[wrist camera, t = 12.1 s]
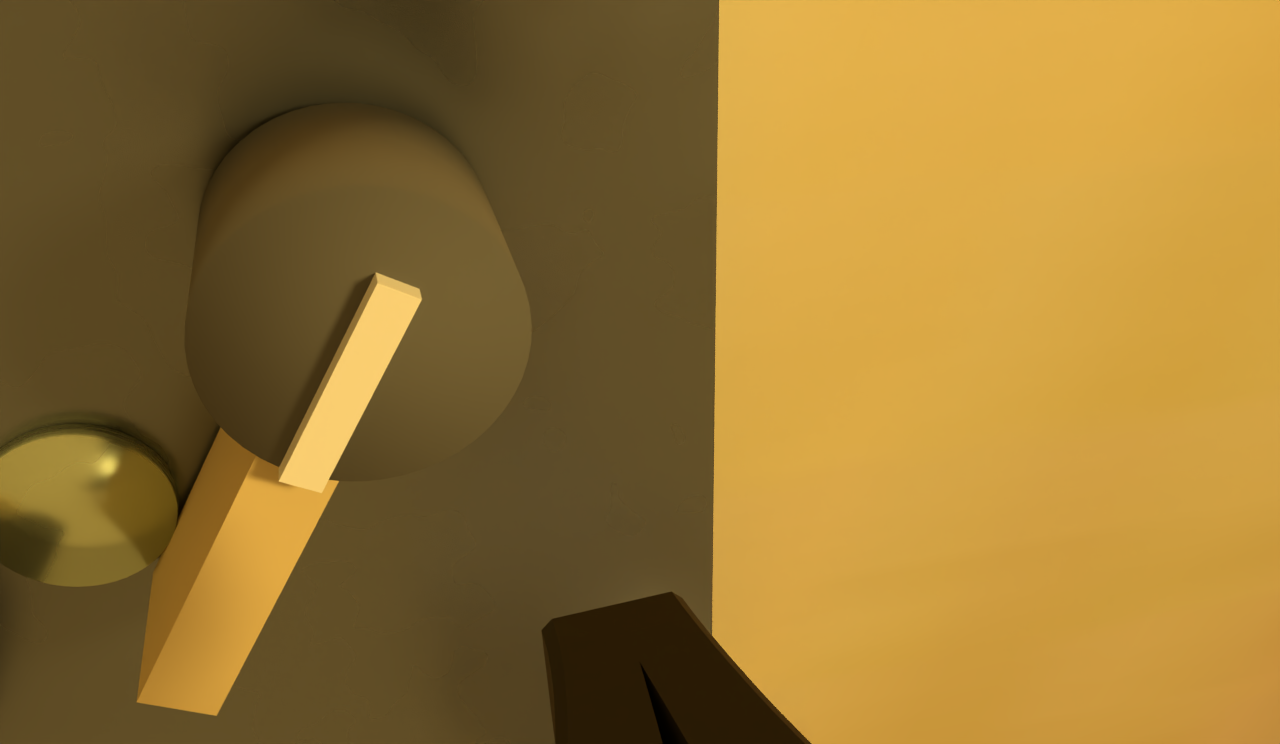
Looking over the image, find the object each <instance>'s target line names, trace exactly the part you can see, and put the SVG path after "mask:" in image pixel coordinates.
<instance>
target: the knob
mask: <svg viewBox="0 0 1280 744" xmlns="http://www.w3.org/2000/svg"><path fill="white" fill-rule="evenodd" d="M531 333H532V321H531V313H530V305H529V301H528V298H527V294H526V290H525V287H524V284H523V282H522V280H521V277H520V275H519V272H518V270H517V268H516V265H515V263H514V260H513V258H512V255H511V253H510V251H509V248H508V246H507V243H506V241H505V239H504V236H503V234H502V231H501V229H500V227H499V224H498V222H497V219H496V217H495V215H494V212H493V210H492V207H491V205H490V202H489V200H488V198H487V195H486V193H485V191H484V188H483V186H482V184H481V182H480V179H479V178H478V176H477V174H476V173H475V171H474V170H473V168H472V166H471V165H470V163H469V162H468V161H467V160H466V158H465V157H464V156H463V155H462V154H461V152H460V151H459V150H458V149H457V148H456V147H455V146H454V145H453V144H452V143H450V142H449V141H448V140H447V139H446V138H445V137H444V136H442V135H441V134H440V133H438V132H437V131H435V130H434V129H433V128H431V127H430V126H428V125H426V124H424V123H422V122H421V121H419V120H417V119H415V118H413V117H411V116H408V115H406V114H403V113H400V112H398V111H395V110H392V109H388V108H384V107H380V106H376V105H369V104H361V103H327V104H320V105H313V106H309V107H305V108H301V109H297V110H294V111H291V112H288V113H286V114H283V115H281V116H279V117H276V118H274V119H272V120H270V121H268V122H267V123H265V124H263V125H261V126H260V127H258V128H256V129H255V130H254V131H252V132H251V133H250V134H248V135H247V136H246V137H245V138H243V139H242V140H241V141H240V142H239V143H238V144H237V145H236V146H235V147H234V148H233V149H232V150H231V151H230V152H229V153H228V154H227V155H226V156H225V158H224V159H223V161H222V162H221V163H220V165H219V166H218V168H217V169H216V170H215V172H214V174H213V176H212V178H211V180H210V182H209V184H208V186H207V188H206V191H205V194H204V197H203V200H202V203H201V207H200V213H199V219H198V226H197V234H196V241H195V249H194V257H193V265H192V273H191V281H190V288H189V296H188V304H187V312H186V320H185V342H184V347H185V353H186V360H187V367H188V370H189V373H190V376H191V379H192V382H193V385H194V387H195V389H196V391H197V393H198V395H199V397H200V400H201V402H202V403H203V405H204V406H205V408H206V409H207V411H208V412H209V414H210V415H211V416H212V418H213V419H214V420H215V422H216V423H217V424H218V425H219V426H220V427H221V428H220V430H219V432H218V434H217V436H216V438H215V440H214V443H213V445H212V447H211V449H210V451H209V453H208V455H207V458H206V460H205V462H204V464H203V466H202V468H201V470H200V473H199V475H198V477H197V479H196V481H195V483H194V485H193V488H192V490H191V492H190V494H189V496H188V498H187V501H186V503H185V505H184V507H183V509H182V511H181V513H180V516H179V518H178V520H177V523H176V528H175V531H174V534H173V536H172V538H171V541H170V543H169V544H168V546H167V547H166V548H165V550H164V551H163V552H162V554H161V556H160V558H159V561H158V563H157V565H156V567H155V569H154V571H153V578H152V585H151V593H150V601H149V609H148V617H147V625H146V632H145V640H144V648H143V656H142V664H141V672H140V679H139V687H138V695H137V702H138V703H144V704H149V705H155V706H161V707H167V708H173V709H179V710H185V711H191V712H197V713H203V714H209V715H215V716H217V714H218V712H219V710H220V708H221V706H222V704H223V703H224V701H225V699H226V697H227V695H228V693H229V691H230V689H231V687H232V685H233V683H234V681H235V680H236V678H237V676H238V674H239V672H240V670H241V668H242V666H243V664H244V662H245V660H246V658H247V657H248V655H249V653H250V651H251V649H252V647H253V645H254V643H255V641H256V639H257V637H258V635H259V634H260V632H261V630H262V628H263V626H264V624H265V622H266V620H267V618H268V616H269V614H270V612H271V611H272V609H273V607H274V605H275V603H276V601H277V599H278V597H279V595H280V593H281V591H282V589H283V588H284V586H285V584H286V582H287V580H288V578H289V576H290V574H291V572H292V570H293V568H294V566H295V564H296V563H297V561H298V559H299V557H300V555H301V553H302V551H303V549H304V547H305V545H306V543H307V541H308V540H309V538H310V536H311V534H312V532H313V530H314V528H315V526H316V524H317V522H318V520H319V518H320V517H321V515H322V513H323V511H324V509H325V507H326V505H327V503H328V501H329V499H330V497H331V495H332V494H333V492H334V490H335V488H336V486H337V484H338V482H339V481H372V480H382V479H388V478H392V477H397V476H402V475H406V474H409V473H412V472H416V471H419V470H422V469H425V468H427V467H429V466H432V465H434V464H436V463H439V462H441V461H443V460H445V459H447V458H448V457H450V456H452V455H454V454H455V453H457V452H459V451H461V450H462V449H463V448H465V447H466V446H468V445H469V444H470V443H472V442H473V441H474V440H476V439H477V438H478V437H479V436H480V435H481V434H482V433H484V432H485V431H486V430H487V429H488V428H489V427H490V426H491V425H492V424H493V423H494V422H495V420H496V419H497V418H498V417H499V416H500V415H501V413H502V412H503V411H504V410H505V408H506V407H507V405H508V403H509V402H510V400H511V399H512V397H513V396H514V394H515V392H516V390H517V388H518V386H519V384H520V382H521V380H522V377H523V374H524V371H525V368H526V365H527V362H528V358H529V352H530V346H531Z"/></svg>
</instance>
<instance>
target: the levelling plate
mask: <svg viewBox="0 0 1280 744" xmlns="http://www.w3.org/2000/svg"><path fill="white" fill-rule="evenodd" d="M718 41H719V0H0V744H555V739H554V731H553V722H552V714H551V706H550V698H549V689H548V681H547V673H546V665H545V656H544V648H543V640H542V632H541V630H542V629H543V628H544V627H545V626H546V625H547V623H548V622H549V621H550V620H551V619H553V618H558V617H562V616H566V615H571V614H575V613H579V612H584V611H588V610H593V609H597V608H601V607H606V606H610V605H614V604H619V603H623V602H628V601H632V600H636V599H641V598H645V597H649V596H654V595H658V594H662V593H667V592H671V591H672V592H673V593H675V594H677V595H678V596H680V597H682V598H683V600H684V601H685V602H686V604H687V605H688V606H689V608H690V609H691V610H692V611H693V613H694V614H695V615H696V617H697V618H698V619H699V620H700V622H701V623H702V624H703V625H704V627H705V628H706V629H707V630H708V632H709V633H710V634H711V635H712V572H713V484H714V395H715V306H716V218H717V129H718ZM327 103H361V104H369V105H376V106H380V107H384V108H388V109H392V110H395V111H398V112H400V113H403V114H406V115H408V116H411V117H413V118H415V119H417V120H419V121H421V122H422V123H424V124H426V125H428V126H430V127H431V128H433V129H434V130H435V131H437V132H438V133H440V134H441V135H442V136H444V137H445V138H446V139H447V140H448V141H449V142H450V143H452V144H453V145H454V146H455V147H456V148H457V149H458V150H459V151H460V152H461V154H462V155H463V156H464V157H465V158H466V160H467V161H468V162H469V163H470V165H471V166H472V168H473V170H474V171H475V173H476V174H477V176H478V178H479V179H480V182H481V184H482V186H483V188H484V191H485V193H486V195H487V198H488V200H489V202H490V205H491V207H492V210H493V212H494V215H495V217H496V219H497V222H498V224H499V227H500V229H501V231H502V234H503V236H504V239H505V241H506V243H507V246H508V248H509V251H510V253H511V255H512V258H513V260H514V263H515V265H516V268H517V270H518V272H519V275H520V277H521V280H522V282H523V284H524V287H525V290H526V294H527V298H528V301H529V305H530V313H531V321H532V333H531V346H530V352H529V358H528V362H527V365H526V368H525V371H524V374H523V377H522V380H521V382H520V384H519V386H518V388H517V390H516V392H515V394H514V396H513V397H512V399H511V400H510V402H509V403H508V405H507V407H506V408H505V410H504V411H503V412H502V413H501V415H500V416H499V417H498V418H497V419H496V420H495V422H494V423H493V424H492V425H491V426H490V427H489V428H488V429H487V430H486V431H485V432H484V433H482V434H481V435H480V436H479V437H478V438H477V439H476V440H474V441H473V442H472V443H470V444H469V445H468V446H466V447H465V448H463V449H462V450H461V451H459V452H457V453H455V454H454V455H452V456H450V457H448V458H447V459H445V460H443V461H441V462H439V463H436V464H434V465H432V466H429V467H427V468H425V469H422V470H419V471H416V472H412V473H409V474H406V475H402V476H397V477H392V478H388V479H382V480H372V481H339V482H338V484H337V486H336V488H335V490H334V492H333V494H332V495H331V497H330V499H329V501H328V503H327V505H326V507H325V509H324V511H323V513H322V515H321V517H320V518H319V520H318V522H317V524H316V526H315V528H314V530H313V532H312V534H311V536H310V538H309V540H308V541H307V543H306V545H305V547H304V549H303V551H302V553H301V555H300V557H299V559H298V561H297V563H296V564H295V566H294V568H293V570H292V572H291V574H290V576H289V578H288V580H287V582H286V584H285V586H284V588H283V589H282V591H281V593H280V595H279V597H278V599H277V601H276V603H275V605H274V607H273V609H272V611H271V612H270V614H269V616H268V618H267V620H266V622H265V624H264V626H263V628H262V630H261V632H260V634H259V635H258V637H257V639H256V641H255V643H254V645H253V647H252V649H251V651H250V653H249V655H248V657H247V658H246V660H245V662H244V664H243V666H242V668H241V670H240V672H239V674H238V676H237V678H236V680H235V681H234V683H233V685H232V687H231V689H230V691H229V693H228V695H227V697H226V699H225V701H224V703H223V704H222V706H221V708H220V710H219V712H218V714H217V716H215V715H209V714H203V713H197V712H191V711H185V710H179V709H173V708H167V707H161V706H155V705H149V704H144V703H138V702H137V695H138V687H139V679H140V672H141V664H142V656H143V648H144V640H145V632H146V625H147V617H148V609H149V601H150V593H151V585H152V578H153V571H154V569H155V567H156V565H157V563H158V561H159V558H160V556H161V554H162V552H163V551H164V550H165V548H166V547H167V546H168V544H169V543H170V541H171V538H172V536H173V534H174V531H175V528H176V523H177V520H178V518H179V516H180V513H181V511H182V509H183V507H184V505H185V503H186V501H187V498H188V496H189V494H190V492H191V490H192V488H193V485H194V483H195V481H196V479H197V477H198V475H199V473H200V470H201V468H202V466H203V464H204V462H205V460H206V458H207V455H208V453H209V451H210V449H211V447H212V445H213V443H214V440H215V438H216V436H217V434H218V432H219V430H220V428H221V427H220V426H219V425H218V424H217V423H216V422H215V420H214V419H213V418H212V416H211V415H210V414H209V412H208V411H207V409H206V408H205V406H204V405H203V403H202V402H201V400H200V397H199V395H198V393H197V391H196V389H195V387H194V385H193V382H192V379H191V376H190V373H189V370H188V367H187V360H186V353H185V347H184V342H185V320H186V312H187V304H188V296H189V288H190V281H191V273H192V265H193V257H194V249H195V241H196V234H197V226H198V219H199V213H200V207H201V203H202V200H203V197H204V194H205V191H206V188H207V186H208V184H209V182H210V180H211V178H212V176H213V174H214V172H215V170H216V169H217V168H218V166H219V165H220V163H221V162H222V161H223V159H224V158H225V156H226V155H227V154H228V153H229V152H230V151H231V150H232V149H233V148H234V147H235V146H236V145H237V144H238V143H239V142H240V141H241V140H242V139H243V138H245V137H246V136H247V135H248V134H250V133H251V132H252V131H254V130H255V129H256V128H258V127H260V126H261V125H263V124H265V123H267V122H268V121H270V120H272V119H274V118H276V117H279V116H281V115H283V114H286V113H288V112H291V111H294V110H297V109H301V108H305V107H309V106H313V105H320V104H327Z"/></svg>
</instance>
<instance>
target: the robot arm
mask: <svg viewBox="0 0 1280 744" xmlns="http://www.w3.org/2000/svg"><path fill="white" fill-rule="evenodd" d="M541 632H542V640H543V648H544V656H545V665H546V673H547V681H548V689H549V698H550V706H551V714H552V722H553V731H554V739H555V744H811V743H810V742H809V741H808V740H807V739H806V738H805V737H804V736H803V735H802V734H801V733H800V732H799V731H798V730H797V729H796V728H795V727H794V726H793V725H792V724H791V723H790V722H789V721H788V720H787V719H786V718H785V717H784V716H783V715H782V714H781V712H780V711H779V710H778V709H777V708H776V707H775V706H774V705H773V704H772V703H771V702H770V701H769V700H768V699H767V698H766V697H765V696H764V694H763V693H762V692H761V691H760V690H759V689H758V688H757V687H756V686H755V685H754V683H753V682H752V681H751V680H750V679H749V678H748V677H747V676H746V675H745V673H744V672H743V671H742V670H741V669H740V668H739V667H738V666H737V664H736V663H735V662H734V661H733V660H732V659H731V658H730V656H729V655H728V654H727V653H726V652H725V651H724V649H723V648H722V647H721V646H720V645H719V644H718V642H717V641H716V640H715V639H714V638H713V636H712V635H711V634H710V633H709V632H708V630H707V629H706V628H705V627H704V625H703V624H702V623H701V622H700V620H699V619H698V618H697V617H696V615H695V614H694V613H693V611H692V610H691V609H690V608H689V606H688V605H687V604H686V602H685V601H684V600H683V598H682V597H680V596H678V595H677V594H675V593H673V592H672V591H671V592H667V593H662V594H658V595H654V596H649V597H645V598H641V599H636V600H632V601H628V602H623V603H619V604H614V605H610V606H606V607H601V608H597V609H593V610H588V611H584V612H579V613H575V614H571V615H566V616H562V617H558V618H553V619H551V620H550V621H549V622H548V623H547V625H546V626H545V627H544V628H543V629H542V630H541Z"/></svg>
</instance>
